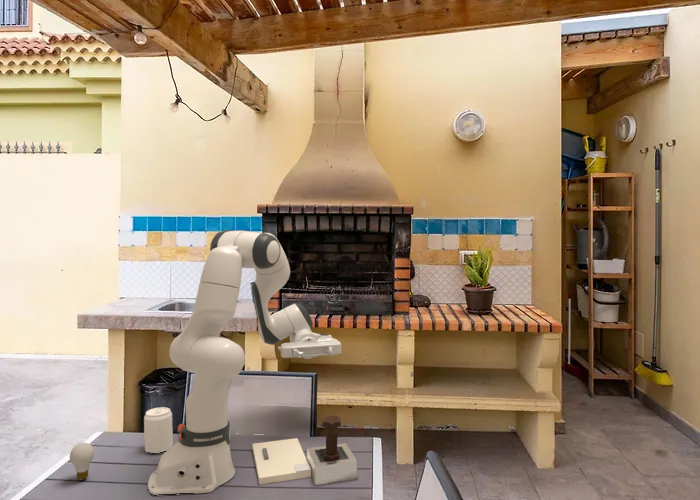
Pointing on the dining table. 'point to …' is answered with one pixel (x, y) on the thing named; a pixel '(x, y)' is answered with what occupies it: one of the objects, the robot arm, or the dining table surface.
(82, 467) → the light bulb
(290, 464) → the cabinet door
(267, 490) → the dining table surface
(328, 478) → the hollow square frame
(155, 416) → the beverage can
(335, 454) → the bolt
